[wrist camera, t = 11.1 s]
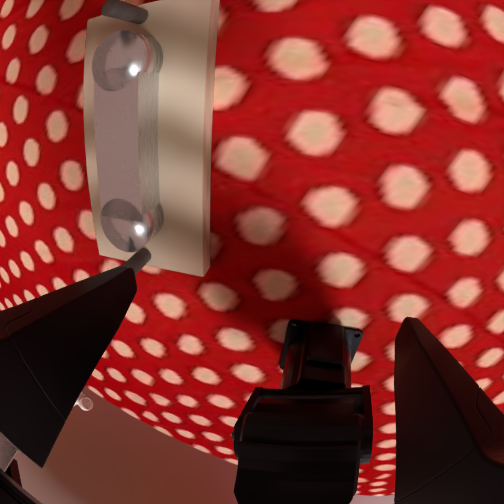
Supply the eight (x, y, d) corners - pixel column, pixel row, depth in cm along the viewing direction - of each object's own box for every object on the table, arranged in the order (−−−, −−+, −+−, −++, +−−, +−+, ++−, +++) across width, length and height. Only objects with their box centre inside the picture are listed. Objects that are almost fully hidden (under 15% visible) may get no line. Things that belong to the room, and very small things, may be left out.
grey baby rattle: (165, 241, 22) (149, 256, 20) (122, 233, 22) (105, 247, 20) (165, 31, 14) (145, 25, 12) (115, 40, 15) (93, 37, 13)
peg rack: (210, 266, 24) (185, 304, 20) (109, 247, 25) (75, 275, 21) (220, -1, 14) (188, -26, 10) (99, 21, 16) (55, 15, 11)
